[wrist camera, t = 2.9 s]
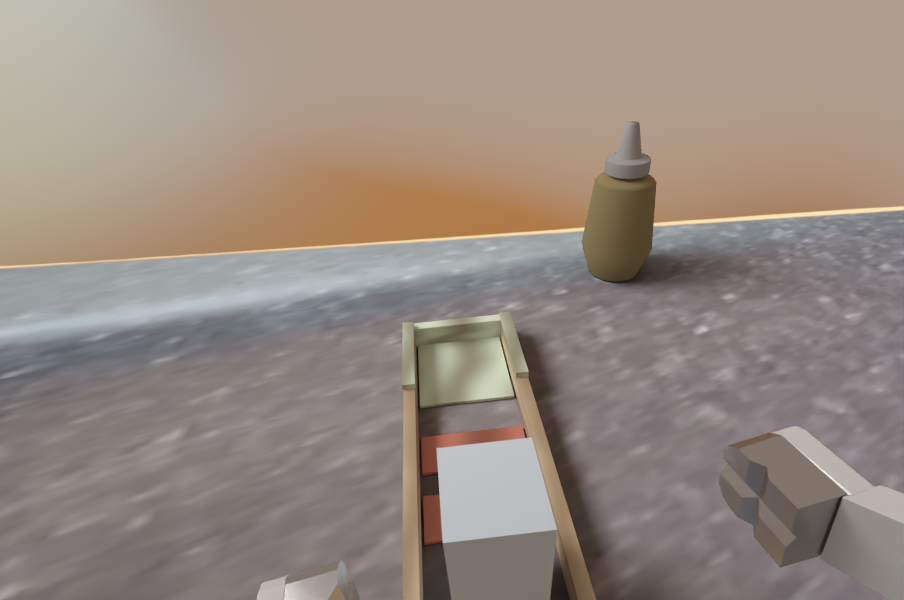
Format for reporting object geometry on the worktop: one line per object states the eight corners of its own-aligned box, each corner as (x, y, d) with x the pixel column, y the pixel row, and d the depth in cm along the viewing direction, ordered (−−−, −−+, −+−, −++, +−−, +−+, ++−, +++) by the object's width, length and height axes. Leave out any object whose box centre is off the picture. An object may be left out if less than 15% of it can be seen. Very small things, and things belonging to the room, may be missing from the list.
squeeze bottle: (583, 251, 64) (597, 112, 54) (647, 258, 61) (674, 113, 51) (575, 283, 58) (588, 133, 47) (645, 292, 55) (676, 135, 45)
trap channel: (407, 740, 24) (399, 721, 22) (406, 343, 51) (402, 320, 49) (620, 713, 24) (628, 692, 23) (509, 332, 51) (509, 308, 49)
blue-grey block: (459, 653, 27) (442, 543, 20) (452, 564, 31) (436, 448, 24) (545, 642, 27) (557, 529, 20) (527, 555, 31) (531, 437, 25)
